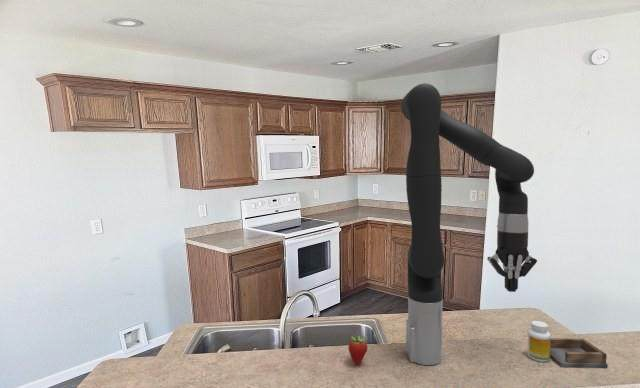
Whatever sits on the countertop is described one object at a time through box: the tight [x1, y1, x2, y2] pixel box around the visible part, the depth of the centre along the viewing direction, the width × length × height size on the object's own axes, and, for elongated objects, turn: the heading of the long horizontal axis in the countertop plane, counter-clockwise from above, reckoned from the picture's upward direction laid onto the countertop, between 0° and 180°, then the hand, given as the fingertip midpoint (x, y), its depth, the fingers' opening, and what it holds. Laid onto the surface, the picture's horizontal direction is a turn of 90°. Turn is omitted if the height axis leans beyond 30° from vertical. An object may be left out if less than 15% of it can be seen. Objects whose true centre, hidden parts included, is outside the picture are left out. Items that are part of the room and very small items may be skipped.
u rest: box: [550, 337, 609, 369], centre depth 99 cm, size 12×10×4 cm
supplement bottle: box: [527, 320, 552, 363], centre depth 99 cm, size 5×5×10 cm
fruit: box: [348, 335, 368, 365], centre depth 97 cm, size 5×5×8 cm
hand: (511, 290), depth 99 cm, fingers closed
